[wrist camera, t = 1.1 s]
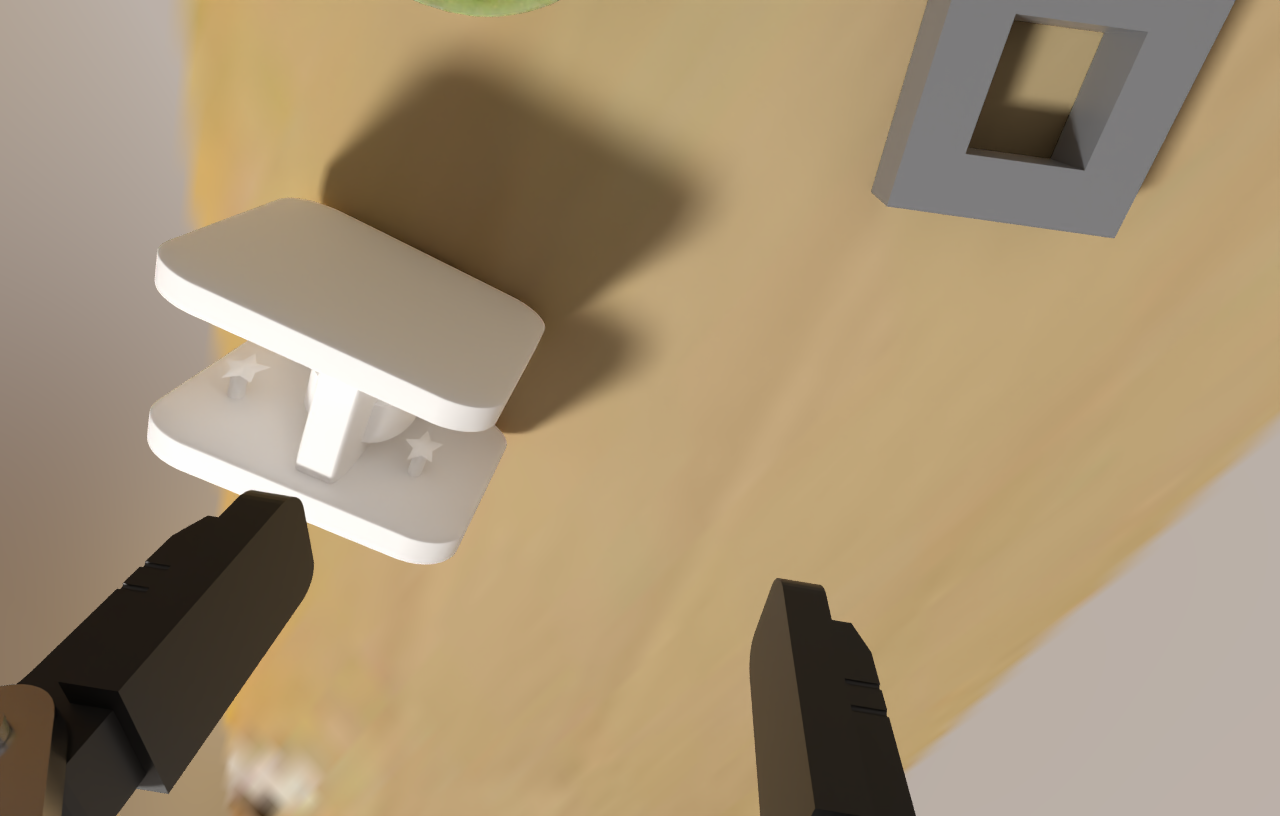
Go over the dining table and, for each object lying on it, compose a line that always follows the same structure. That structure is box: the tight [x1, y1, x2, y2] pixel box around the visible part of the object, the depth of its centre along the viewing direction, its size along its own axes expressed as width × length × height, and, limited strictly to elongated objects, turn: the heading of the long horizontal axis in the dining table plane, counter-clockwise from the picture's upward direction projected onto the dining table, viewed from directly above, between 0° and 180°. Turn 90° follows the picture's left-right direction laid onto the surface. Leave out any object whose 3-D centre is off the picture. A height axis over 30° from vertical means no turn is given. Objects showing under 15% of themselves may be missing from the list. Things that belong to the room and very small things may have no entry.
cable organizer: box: [147, 198, 545, 564], centre depth 31 cm, size 15×11×12 cm
